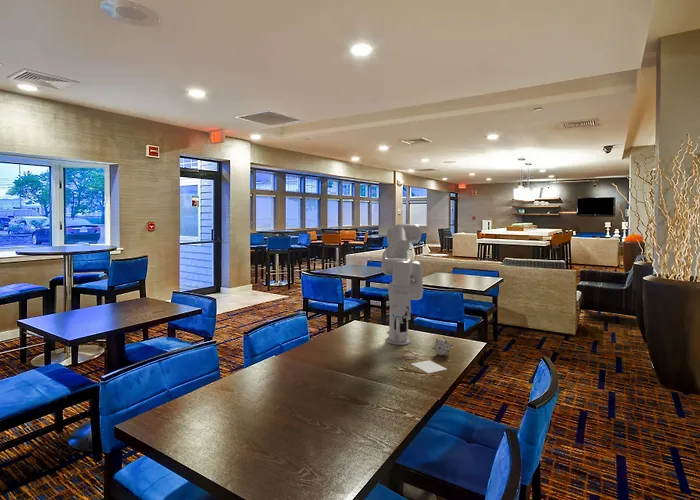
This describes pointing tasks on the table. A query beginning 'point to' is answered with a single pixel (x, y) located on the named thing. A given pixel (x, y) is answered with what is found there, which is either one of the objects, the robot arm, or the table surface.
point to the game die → (442, 347)
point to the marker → (398, 325)
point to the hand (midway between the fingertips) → (400, 330)
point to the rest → (409, 356)
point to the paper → (428, 366)
